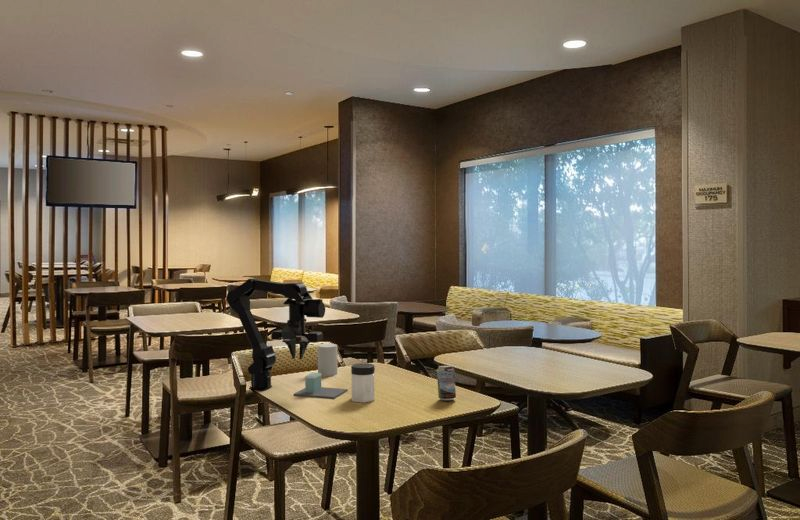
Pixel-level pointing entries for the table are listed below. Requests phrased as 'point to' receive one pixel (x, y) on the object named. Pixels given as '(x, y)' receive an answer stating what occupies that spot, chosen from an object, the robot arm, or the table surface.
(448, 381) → the beverage can
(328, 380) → the table surface
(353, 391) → the jar
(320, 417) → the table surface
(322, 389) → the mat
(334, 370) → the cup
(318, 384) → the pale teal block
